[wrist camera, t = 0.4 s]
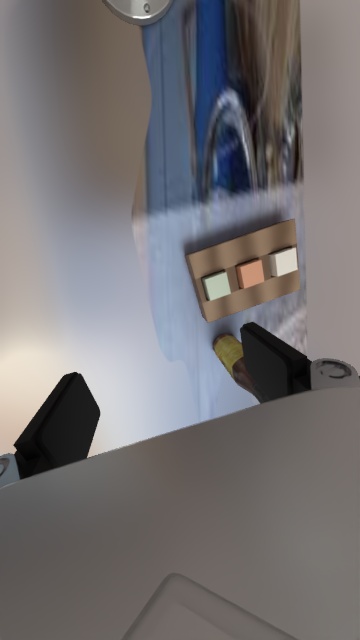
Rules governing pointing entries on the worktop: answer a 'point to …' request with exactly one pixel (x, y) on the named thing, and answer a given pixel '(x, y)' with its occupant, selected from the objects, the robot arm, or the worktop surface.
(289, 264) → the cream button
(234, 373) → the sauce bottle
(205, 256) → the button panel
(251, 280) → the terracotta button
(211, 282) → the sage button
